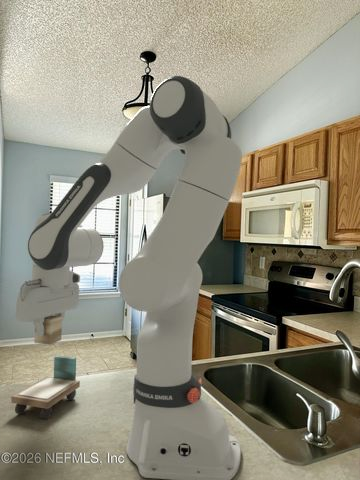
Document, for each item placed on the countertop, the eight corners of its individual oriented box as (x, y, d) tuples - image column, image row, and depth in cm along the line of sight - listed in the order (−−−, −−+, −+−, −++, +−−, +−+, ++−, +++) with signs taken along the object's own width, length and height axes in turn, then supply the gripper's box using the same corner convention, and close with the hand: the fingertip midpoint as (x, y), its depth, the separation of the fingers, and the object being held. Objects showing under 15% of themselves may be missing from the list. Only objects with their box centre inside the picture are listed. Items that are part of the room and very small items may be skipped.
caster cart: (81, 395, 90) (82, 358, 90) (47, 421, 76) (48, 377, 76) (49, 391, 92) (50, 354, 93) (10, 415, 79) (12, 372, 79)
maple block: (61, 339, 86) (62, 316, 86) (50, 344, 81) (51, 319, 82) (46, 338, 87) (47, 314, 87) (34, 342, 83) (35, 318, 83)
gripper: (33, 281, 74) (30, 345, 73) (83, 275, 93) (82, 325, 93) (9, 280, 75) (6, 342, 75) (64, 274, 95) (62, 323, 95)
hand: (48, 332), depth 84 cm, fingers closed on maple block, 4 cm apart
